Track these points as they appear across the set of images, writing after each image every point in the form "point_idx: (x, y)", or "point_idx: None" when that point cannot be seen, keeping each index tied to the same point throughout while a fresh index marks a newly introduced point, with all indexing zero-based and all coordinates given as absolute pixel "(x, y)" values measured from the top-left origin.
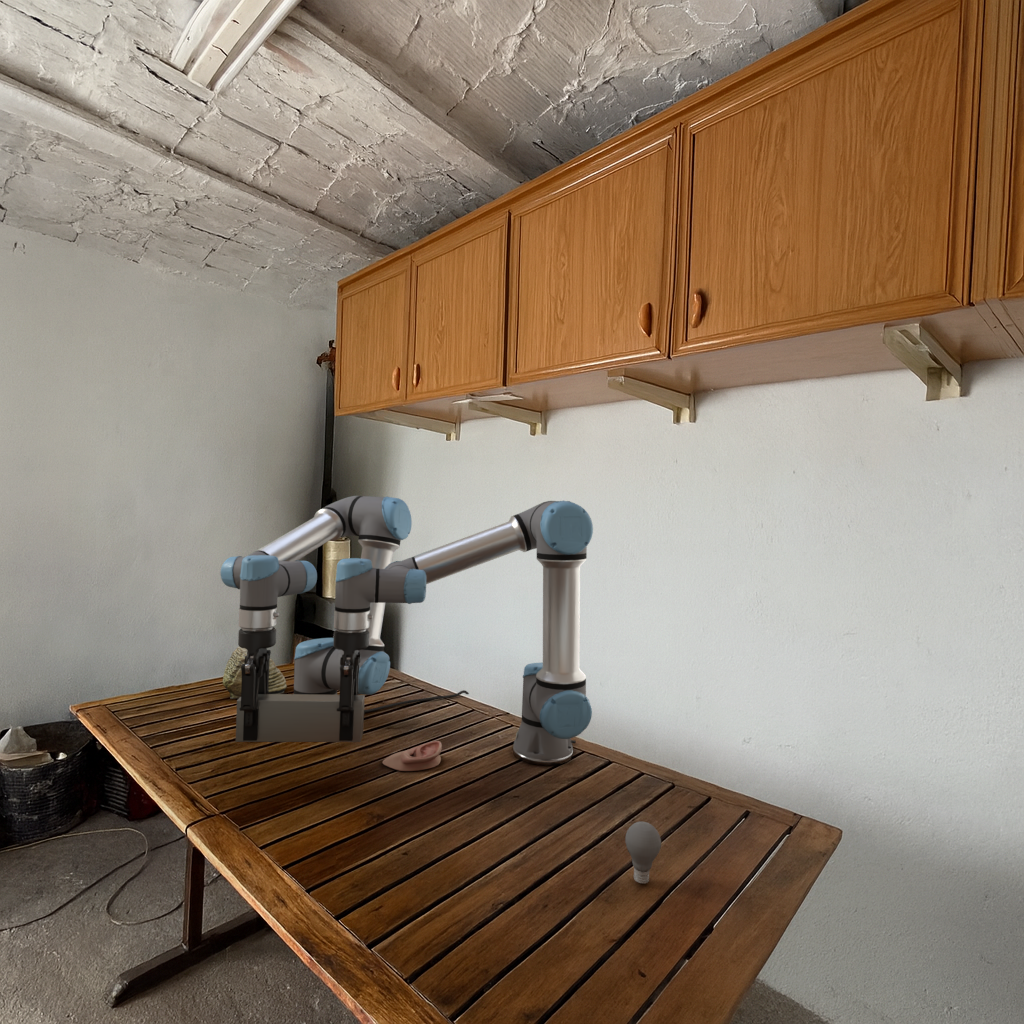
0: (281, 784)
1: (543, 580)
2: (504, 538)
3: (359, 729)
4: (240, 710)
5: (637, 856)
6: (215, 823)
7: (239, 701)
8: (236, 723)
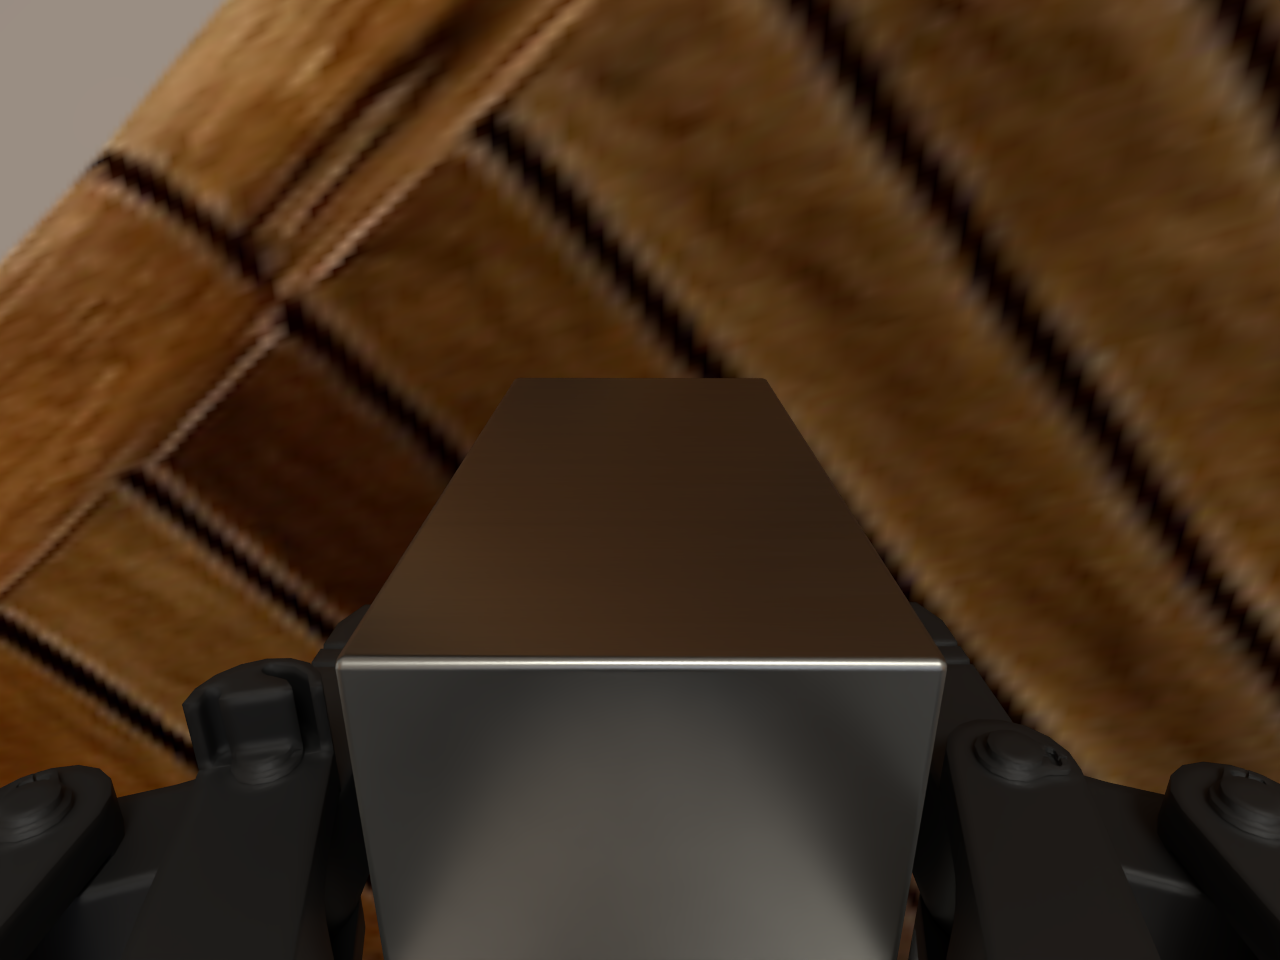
0: None
1: None
2: None
3: None
4: (241, 678)
5: None
6: (162, 318)
7: (345, 704)
8: (471, 452)
